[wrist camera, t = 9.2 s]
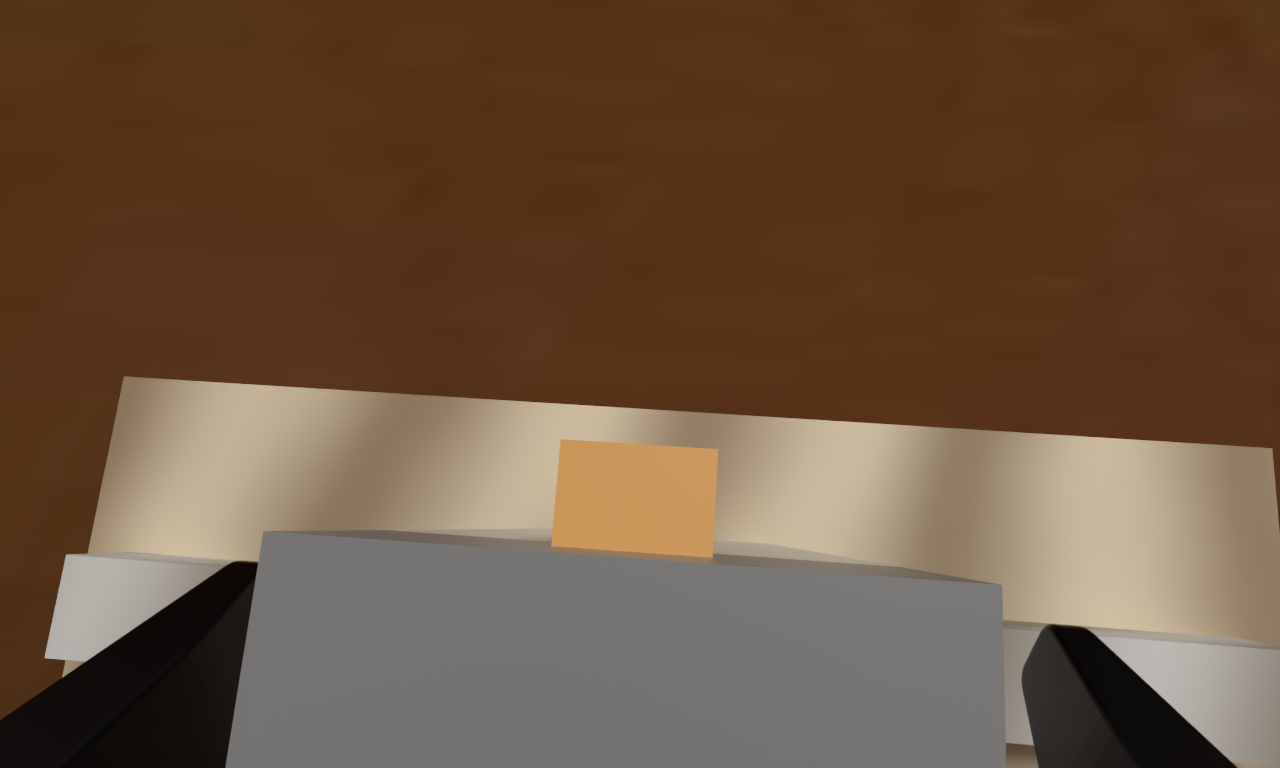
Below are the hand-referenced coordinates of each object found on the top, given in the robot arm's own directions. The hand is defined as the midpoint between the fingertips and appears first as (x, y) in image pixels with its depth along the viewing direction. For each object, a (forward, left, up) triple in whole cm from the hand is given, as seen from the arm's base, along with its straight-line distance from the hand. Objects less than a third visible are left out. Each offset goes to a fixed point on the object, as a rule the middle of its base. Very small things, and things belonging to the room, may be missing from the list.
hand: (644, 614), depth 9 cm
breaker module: (-1, +1, -8) cm, 8 cm away
